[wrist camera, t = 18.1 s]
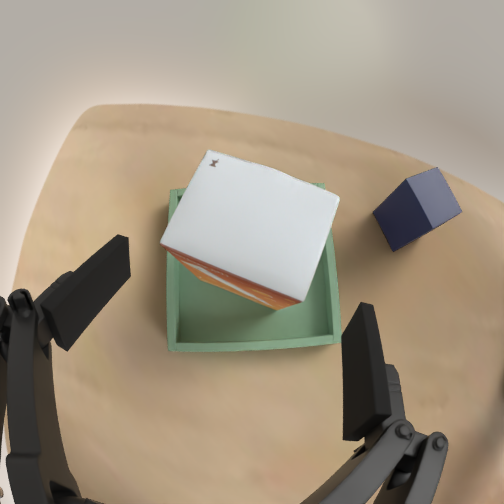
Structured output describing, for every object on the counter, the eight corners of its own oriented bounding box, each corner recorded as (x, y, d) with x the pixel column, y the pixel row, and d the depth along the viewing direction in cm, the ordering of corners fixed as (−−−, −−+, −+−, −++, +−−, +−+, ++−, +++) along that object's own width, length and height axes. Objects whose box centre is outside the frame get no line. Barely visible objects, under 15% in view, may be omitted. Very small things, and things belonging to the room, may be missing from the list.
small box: (198, 280, 26) (154, 242, 14) (225, 222, 28) (206, 144, 15) (278, 313, 25) (305, 304, 13) (301, 252, 27) (342, 192, 14)
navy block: (402, 199, 29) (437, 166, 21) (421, 236, 28) (462, 211, 20) (372, 212, 29) (405, 178, 21) (392, 252, 28) (433, 228, 20)
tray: (319, 192, 29) (324, 183, 27) (334, 341, 25) (342, 342, 23) (175, 199, 29) (169, 189, 27) (174, 348, 25) (167, 351, 23)
